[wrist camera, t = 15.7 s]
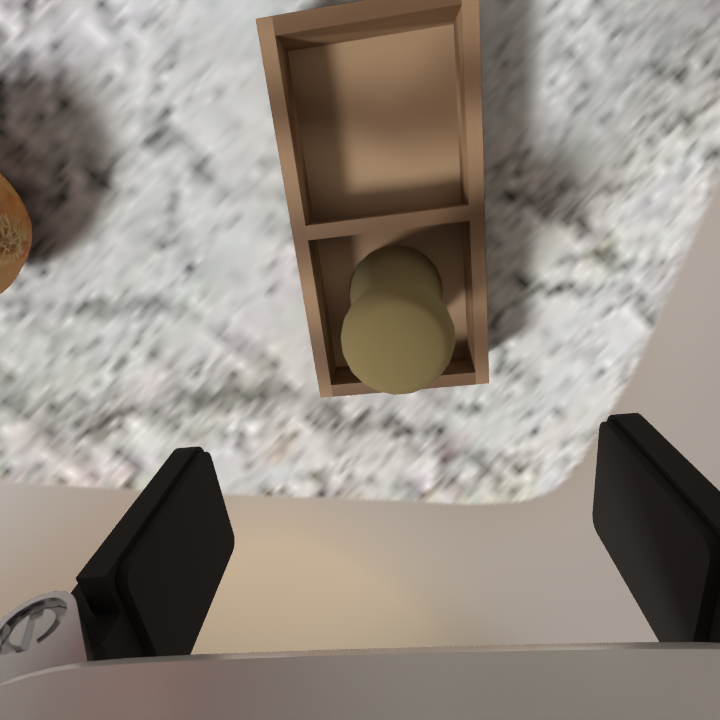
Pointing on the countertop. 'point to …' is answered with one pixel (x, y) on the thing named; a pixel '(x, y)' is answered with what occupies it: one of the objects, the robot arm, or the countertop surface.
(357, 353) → the cork
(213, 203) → the countertop surface
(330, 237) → the wooden divided tray
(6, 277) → the onion
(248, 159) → the countertop surface
